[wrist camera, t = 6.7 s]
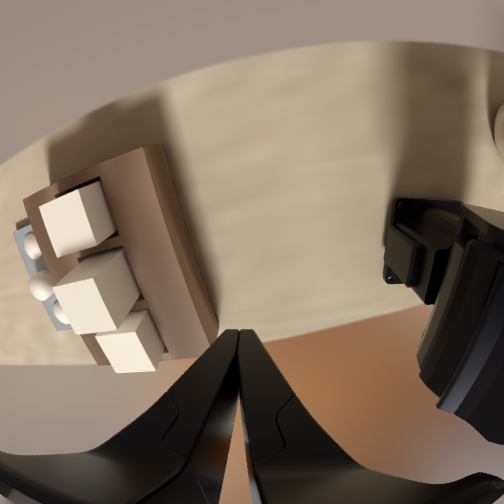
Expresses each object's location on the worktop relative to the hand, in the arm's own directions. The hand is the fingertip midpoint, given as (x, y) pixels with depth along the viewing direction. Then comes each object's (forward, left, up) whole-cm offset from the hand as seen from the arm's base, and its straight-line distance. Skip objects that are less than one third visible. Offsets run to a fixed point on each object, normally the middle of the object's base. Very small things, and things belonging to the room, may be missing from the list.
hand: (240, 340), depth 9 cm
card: (+17, +4, -12) cm, 21 cm away
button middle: (+9, +2, -10) cm, 13 cm away
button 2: (+8, +7, -11) cm, 15 cm away
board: (+9, +2, -12) cm, 15 cm away
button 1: (+10, -2, -11) cm, 15 cm away
